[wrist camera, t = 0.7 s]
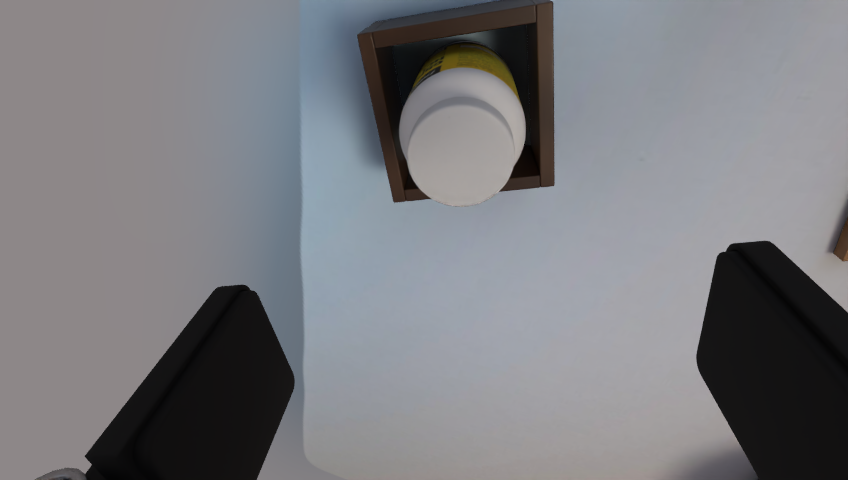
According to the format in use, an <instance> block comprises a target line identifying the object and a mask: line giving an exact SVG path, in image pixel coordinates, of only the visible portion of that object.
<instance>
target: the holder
mask: <svg viewBox="0 0 848 480" xmlns="http://www.w3.org/2000/svg"><path fill="white" fill-rule="evenodd" d="M525 24H526V37H527V65H528V92H529V120H530V145H524V147H523V150H522V152H521V155H520V157H519V159H518V161H517V162H516V164H515V165H514V167H513V170H512V173H511V175H510V177H509V179H508V181H507V183H506V184H505V185H504V187H503V188H502V189H501V190H500V191H499V192H501V191H510V190H520V189H530V188H539V187H540V186H541V187H549V186H554V50H553V2H552V1H550V0H499V1H493V2H487V3H481V4H475V5H470V6H464V7H458V8H452V9H446V10H440V11H434V12H429V13H423V14H417V15H411V16H405V17H399V18H394V19H388V20H382V21H376V22H374V23H373V24H371V25H370V26H369V27H367V28H366V29H364V30H363V31H362V32H360V33H359V34H357V38H358V42H359V47H360V51H361V56H362V61H363V65H364V70H365V74H366V79H367V83H368V88H369V92H370V97H371V102H372V106H373V111H374V115H375V120H376V124H377V129H378V133H379V138H380V142H381V147H382V152H383V156H384V161H385V165H386V170H387V174H388V179H389V183H390V188H391V193H392V197H393V201H394V202H404V201H415V200H424V199H431V198H430V197H428V196H427V195H426V194H424V193H423V192H422V191H421V190H420V189H419V188H418V186H417V185H416V184H415V182H414V181H413V179H412V177H411V175H410V172H409V169H408V165H407V160H406V158H405V156H404V154H403V151H402V148H401V143H400V138H399V126H400V118H401V114H402V110H403V104H402V98H401V93H400V88H399V82H398V77H397V71H396V66H395V60H394V55H393V50H392V46H394V45H401V44H407V43H413V42H419V41H425V40H432V39H438V38H444V37H450V36H457V35H463V34H469V33H475V32H481V31H488V30H494V29H500V28H506V27H512V26H519V25H525Z"/></svg>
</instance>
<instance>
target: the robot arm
mask: <svg viewBox="0 0 848 480" xmlns="http://www.w3.org/2000/svg"><path fill="white" fill-rule="evenodd" d="M696 358H697V366H698V369H699V372H700V374H701V376H702V378H703V379H704V381H705V383H706V385H707V387H708V388H709V390H710V392H711V394H712V395H713V397H714V399H715V401H716V403H717V404H718V406H719V408H720V410H721V412H722V413H723V415H724V417H725V419H726V420H727V422H728V424H729V426H730V428H731V429H732V431H733V433H734V435H735V437H736V438H737V440H738V442H739V444H740V445H741V447H742V449H743V451H744V453H745V454H746V456H747V458H748V460H749V461H750V463H751V465H752V467H753V469H754V470H755V472H756V474H757V476H758V478H759V479H760V480H848V312H846V311H845V310H844V309H843V308H842V307H841V306H840V305H839V304H838V303H837V302H836V301H835V300H833V299H832V298H831V297H830V296H829V295H828V294H827V293H826V292H825V291H824V290H823V289H822V288H821V287H819V286H818V285H817V284H816V283H815V282H814V281H813V280H812V279H811V278H810V277H809V276H808V275H807V274H805V273H804V272H803V271H802V270H801V269H800V268H799V267H798V266H797V265H796V264H795V263H794V262H792V261H791V260H790V259H789V258H788V257H787V256H786V255H785V254H784V253H783V252H782V251H781V250H780V249H778V248H777V247H776V246H775V245H774V244H773V243H771V242H770V241H757V242H745V243H733V244H731V245H730V246H729V247H728V248H727V250H726V252H721V253H719V255H718V256H717V259H716V264H715V269H714V273H713V278H712V283H711V288H710V292H709V297H708V302H707V307H706V312H705V316H704V321H703V326H702V331H701V336H700V340H699V345H698V350H697V356H696ZM293 389H294V375H293V372H292V370H291V368H290V365H289V363H288V361H287V359H286V356H285V354H284V352H283V350H282V348H281V345H280V343H279V341H278V339H277V336H276V334H275V332H274V330H273V328H272V325H271V323H270V321H269V319H268V316H267V314H266V312H265V310H264V307H263V305H262V303H261V301H260V298H259V296H258V295H257V293H256V292H255V291H251V290H250V289H249V287H247V286H246V285H234V286H222V287H218V288H216V289H215V290H214V291H213V292H212V294H211V295H210V296H209V298H208V299H207V300H206V301H205V303H204V304H203V305H202V307H201V308H200V309H199V310H198V312H197V313H196V314H195V316H194V317H193V318H192V319H191V321H190V322H189V323H188V324H187V326H186V327H185V328H184V330H183V331H182V332H181V333H180V335H179V336H178V337H177V339H176V340H175V341H174V343H173V344H172V345H171V346H170V347H169V349H168V350H167V351H166V353H165V354H164V355H163V357H162V358H161V359H160V360H159V362H158V363H157V364H156V366H155V367H154V368H153V369H152V371H151V372H150V373H149V374H148V376H147V377H146V379H145V380H144V381H143V382H142V383H141V385H140V386H139V387H138V389H137V390H136V391H135V392H134V394H133V395H132V396H131V398H130V399H129V400H128V401H127V403H126V404H125V405H124V407H123V408H122V409H121V411H120V412H119V413H118V414H117V416H116V417H115V418H114V419H113V421H112V422H111V423H110V424H109V426H108V427H107V428H106V430H105V431H104V432H103V433H102V435H101V436H100V437H99V439H98V440H97V441H96V442H95V444H94V445H93V446H92V448H91V449H90V450H89V451H88V453H87V454H86V455H85V457H86V458H87V460H88V461H89V462H90V463H91V464H92V466H91V467H90V469H89V470H88V471H87V472H86V474H84V473H83V472H81V471H80V470H79V469H74V468H64V469H59V470H55V471H52V472H50V473H48V474H45V475H43V476H41V477H39V478H37V479H35V480H257V477H258V475H259V473H260V470H261V468H262V465H263V463H264V460H265V458H266V456H267V453H268V450H269V448H270V446H271V443H272V441H273V438H274V436H275V434H276V431H277V429H278V426H279V424H280V422H281V419H282V416H283V414H284V412H285V409H286V407H287V404H288V402H289V400H290V397H291V394H292V392H293Z"/></svg>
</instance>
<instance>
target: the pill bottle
mask: <svg viewBox="0 0 848 480" xmlns="http://www.w3.org/2000/svg"><path fill="white" fill-rule="evenodd" d="M525 135H526V123H525V116H524V112H523V108H522V105H521V102H520V99H519V96H518V93H517V89H516V86H515V83H514V80H513V76H512V74H511V71H510V69H509V67H508V65H507V64H506V62H505V61H504V60H503V58H502V57H501V56H500V55H499V54H498V53H497V52H495V51H494V50H493V49H491V48H490V47H488V46H486V45H484V44H481V43H478V42H473V41H458V42H453V43H450V44H448V45H445V46H443V47H441V48H440V49H438V50H437V51H435V52H434V53H433V54H432V55H431V56H430V57H429V58H428V59H427V60H426V62H425V63H424V64H423V66H422V68H421V69H420V71H419V73H418V75H417V78H416V80H415V82H414V85H413V87H412V90H411V92H410V94H409V96H408V98H407V101H406V103H405V105H404V107H403V110H402V114H401V118H400V126H399V138H400V143H401V148H402V151H403V154H404V156H405V158H406V160H407V165H408V169H409V172H410V175H411V177H412V179H413V181H414V182H415V184H416V185H417V186H418V188H419V189H420V190H421V191H422V192H423V193H424V194H426V195H427V196H428V197H430V198H431V199H433V200H435V201H437V202H439V203H442V204H445V205H450V206H461V207H463V206H471V205H475V204H479V203H481V202H484V201H486V200H488V199H489V198H491V197H493V196H494V195H495V194H497V193H498V192H499V191H500V190H501V189H502V188H503V187H504V185H505V184H506V183H507V181H508V179H509V177H510V175H511V173H512V170H513V167H514V165H515V164H516V162H517V161H518V159H519V157H520V155H521V152H522V150H523V147H524V142H525Z"/></svg>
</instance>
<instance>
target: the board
mask: <svg viewBox="0 0 848 480" xmlns="http://www.w3.org/2000/svg"><path fill="white" fill-rule="evenodd" d="M834 254H835V255H836V256H837V257H838V258H839V259H841V260H842V261H848V217H847V220H846V222H845V225H844V227H843V230H842V233H841V235H840V238H839V240H838V243H837V245H836V248H835V251H834Z"/></svg>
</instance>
